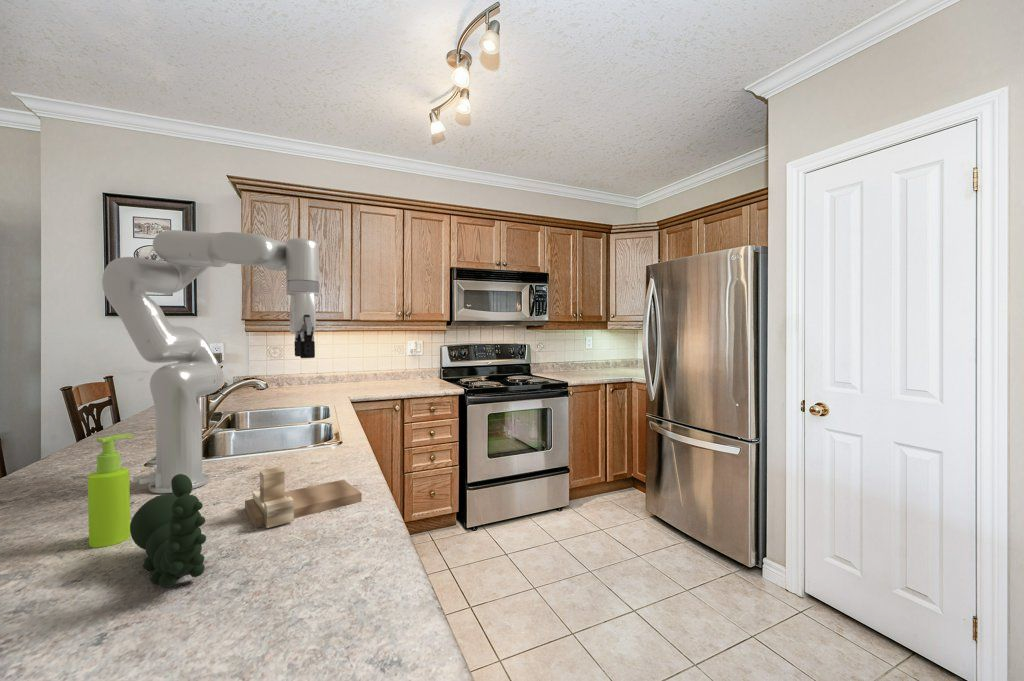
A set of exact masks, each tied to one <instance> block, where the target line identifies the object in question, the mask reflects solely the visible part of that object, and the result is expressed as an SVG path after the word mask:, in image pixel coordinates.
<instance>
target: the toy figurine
mask: <svg viewBox="0 0 1024 681" xmlns="http://www.w3.org/2000/svg"><path fill="white" fill-rule="evenodd" d="M171 486H172V492H173V493H163V494H160V495H156V496H155V497H152V498H151V499H149V500H148V501H146V502H145V503H143V504H142V505H141V506H140V507H139V508H138V509H137V510H136V512H135V513H134V515H133V516H132V519H130V537H131V539H132V541H133V543H134V544H135V545H136V546H137V547H138V548H140V549H142V550H144V551H145V555H146V557H145V558H144V560H143V563H142V568H143V569H144V570H145V571H146V572H152V573H151V574H150V578H149V581H150V582H151V584H156V585H157V584H158V585H159V586H160V587H162V588H169V587H171V586H172V585H173V584H174V583H175V582H176V579H177V578H179V577H184V576H185V575H188V574H189V575H190V576H191V578H198V577H200V576H201V575H202V574H204V571H205V569H206V566H205V565H204V564H203V563H204V562H205V555H203V554H202V551H203V549H202V548H203V547H202V545H203V544H204V543H205V542H206V541H207V536H206V535H205V534H204V533H203V534H202V529H201V527H202V526H203V525H204V524H205V523H206V518H205V517H204V516H203V515H202V514H201V512H200V510H201V509H202V508H203V507H204V506H203V505H204V503H202V502H201V501H200V500H199V498H198V497H197V496H196V495H193V494H192V491H193V489H192V487H193V486H192V482H191V480H190V478H189V477H188V476H186V475H184V474H178V475H176V476H174V477H173V478H172V480H171Z"/></svg>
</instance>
